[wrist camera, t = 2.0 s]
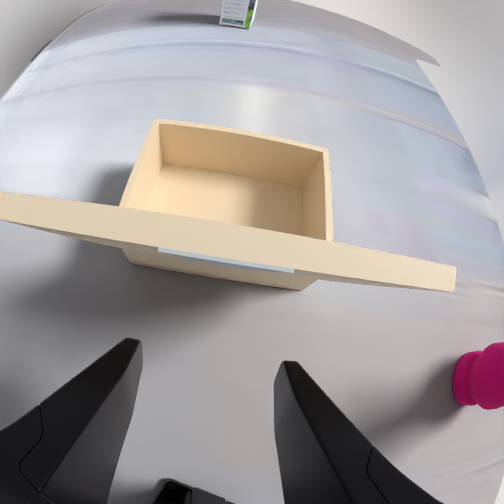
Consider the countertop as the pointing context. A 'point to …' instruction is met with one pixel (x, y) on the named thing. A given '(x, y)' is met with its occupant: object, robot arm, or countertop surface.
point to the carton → (231, 189)
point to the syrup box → (238, 13)
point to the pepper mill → (481, 378)
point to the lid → (224, 243)
